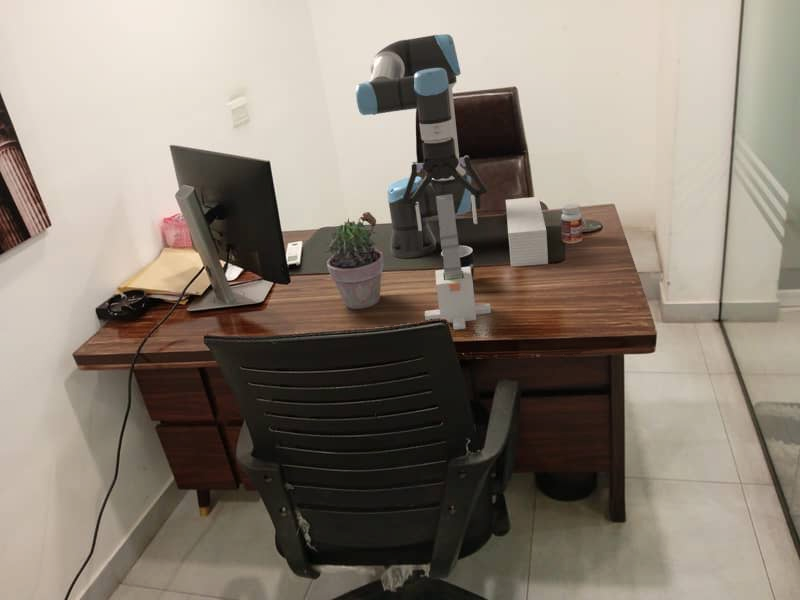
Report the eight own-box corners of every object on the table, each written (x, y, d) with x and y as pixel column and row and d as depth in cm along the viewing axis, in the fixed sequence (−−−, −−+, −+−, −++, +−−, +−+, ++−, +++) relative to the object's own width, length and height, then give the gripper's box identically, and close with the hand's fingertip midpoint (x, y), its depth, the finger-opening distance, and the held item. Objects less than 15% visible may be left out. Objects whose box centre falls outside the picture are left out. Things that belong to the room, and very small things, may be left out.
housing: (425, 303, 182) (420, 266, 178) (487, 296, 181) (484, 258, 176) (425, 332, 167) (420, 293, 162) (493, 325, 166) (490, 284, 161)
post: (446, 285, 173) (435, 196, 163) (462, 283, 173) (452, 193, 163) (446, 292, 169) (435, 201, 159) (463, 290, 169) (453, 199, 159)
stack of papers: (507, 230, 226) (505, 199, 221) (540, 227, 224) (538, 196, 219) (511, 267, 197) (508, 233, 193) (548, 264, 195) (546, 229, 191)
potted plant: (313, 310, 188) (295, 227, 178) (361, 284, 201) (346, 204, 191) (358, 324, 177) (342, 235, 166) (406, 294, 189) (393, 210, 179)
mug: (474, 290, 186) (470, 256, 181) (442, 291, 188) (438, 258, 184) (478, 273, 196) (475, 240, 192) (448, 274, 198) (444, 242, 194)
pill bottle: (572, 245, 205) (571, 210, 200) (557, 241, 210) (556, 207, 205) (586, 239, 208) (585, 204, 203) (571, 235, 213) (570, 201, 208)
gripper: (383, 150, 153) (396, 237, 162) (493, 135, 151) (500, 224, 160) (385, 142, 159) (397, 226, 168) (490, 128, 157) (497, 214, 166)
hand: (447, 225), depth 164 cm, fingers open, 13 cm apart
